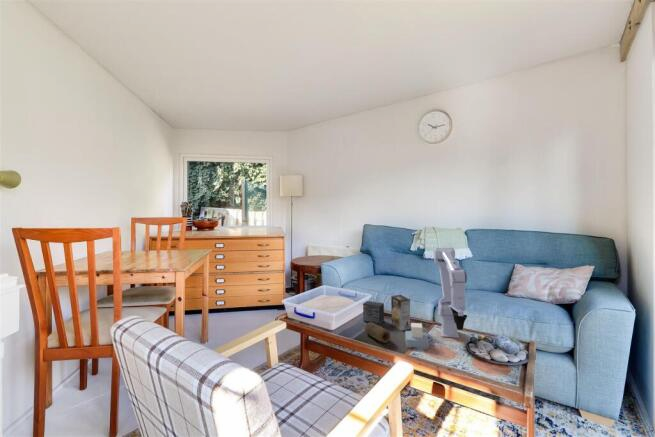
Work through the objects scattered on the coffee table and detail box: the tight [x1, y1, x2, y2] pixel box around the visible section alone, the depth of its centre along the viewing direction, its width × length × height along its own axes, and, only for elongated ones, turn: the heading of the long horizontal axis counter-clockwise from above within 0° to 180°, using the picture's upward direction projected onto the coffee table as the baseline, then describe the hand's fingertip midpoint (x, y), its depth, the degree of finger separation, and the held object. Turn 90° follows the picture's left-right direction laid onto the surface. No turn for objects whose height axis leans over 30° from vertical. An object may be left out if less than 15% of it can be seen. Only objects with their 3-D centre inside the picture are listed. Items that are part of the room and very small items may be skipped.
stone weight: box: [364, 322, 391, 343], centre depth 152 cm, size 15×7×7 cm, turn 31°
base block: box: [404, 330, 430, 349], centre depth 145 cm, size 10×10×4 cm
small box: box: [362, 300, 385, 326], centre depth 173 cm, size 11×6×10 cm, turn 58°
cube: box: [410, 322, 424, 338], centre depth 145 cm, size 5×5×5 cm
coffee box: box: [390, 294, 411, 331], centre depth 164 cm, size 9×6×16 cm
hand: (458, 326), depth 138 cm, fingers open, 7 cm apart
